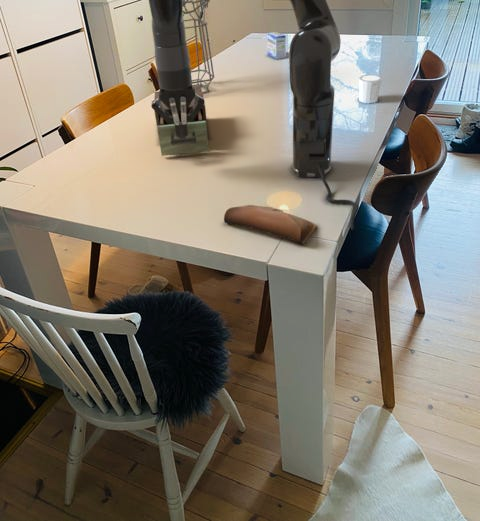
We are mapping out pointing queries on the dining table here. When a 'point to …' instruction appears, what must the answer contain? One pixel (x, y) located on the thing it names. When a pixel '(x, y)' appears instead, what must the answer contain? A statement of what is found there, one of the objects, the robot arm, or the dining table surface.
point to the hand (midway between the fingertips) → (182, 137)
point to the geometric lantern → (201, 41)
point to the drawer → (182, 137)
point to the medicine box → (276, 45)
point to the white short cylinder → (369, 88)
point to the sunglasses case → (270, 222)
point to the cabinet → (203, 111)
